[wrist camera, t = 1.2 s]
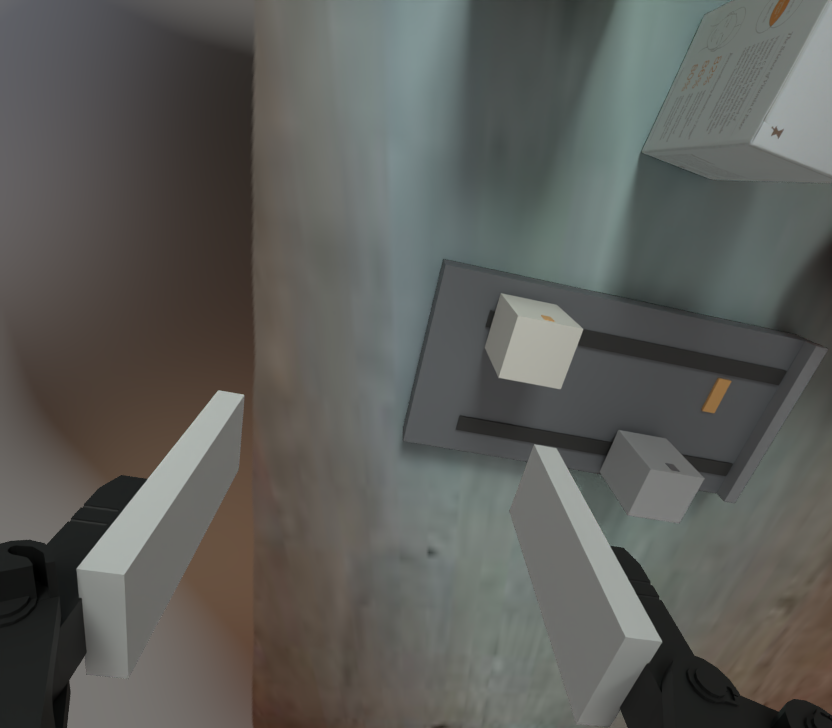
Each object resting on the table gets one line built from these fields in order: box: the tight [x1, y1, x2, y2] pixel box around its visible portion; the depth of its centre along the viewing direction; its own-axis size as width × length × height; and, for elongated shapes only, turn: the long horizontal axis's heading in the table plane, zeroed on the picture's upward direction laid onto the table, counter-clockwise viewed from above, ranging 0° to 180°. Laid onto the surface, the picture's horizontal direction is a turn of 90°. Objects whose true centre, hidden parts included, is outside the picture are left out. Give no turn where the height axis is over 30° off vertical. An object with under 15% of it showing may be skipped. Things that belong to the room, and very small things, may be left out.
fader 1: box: [485, 293, 583, 389], centre depth 30 cm, size 4×4×5 cm
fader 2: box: [600, 430, 705, 523], centre depth 34 cm, size 4×4×5 cm
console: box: [403, 259, 828, 503], centre depth 36 cm, size 14×28×3 cm, turn 78°
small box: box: [642, 0, 832, 184], centre depth 24 cm, size 8×6×10 cm
